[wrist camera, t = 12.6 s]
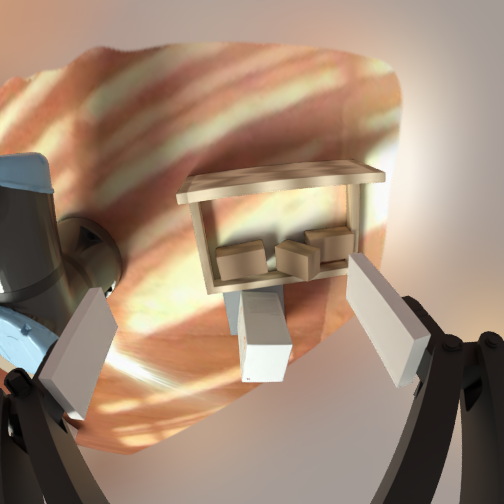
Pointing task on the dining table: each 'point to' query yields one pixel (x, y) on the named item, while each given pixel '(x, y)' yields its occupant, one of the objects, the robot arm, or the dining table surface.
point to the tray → (272, 181)
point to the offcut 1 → (241, 260)
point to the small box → (262, 337)
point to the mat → (234, 300)
